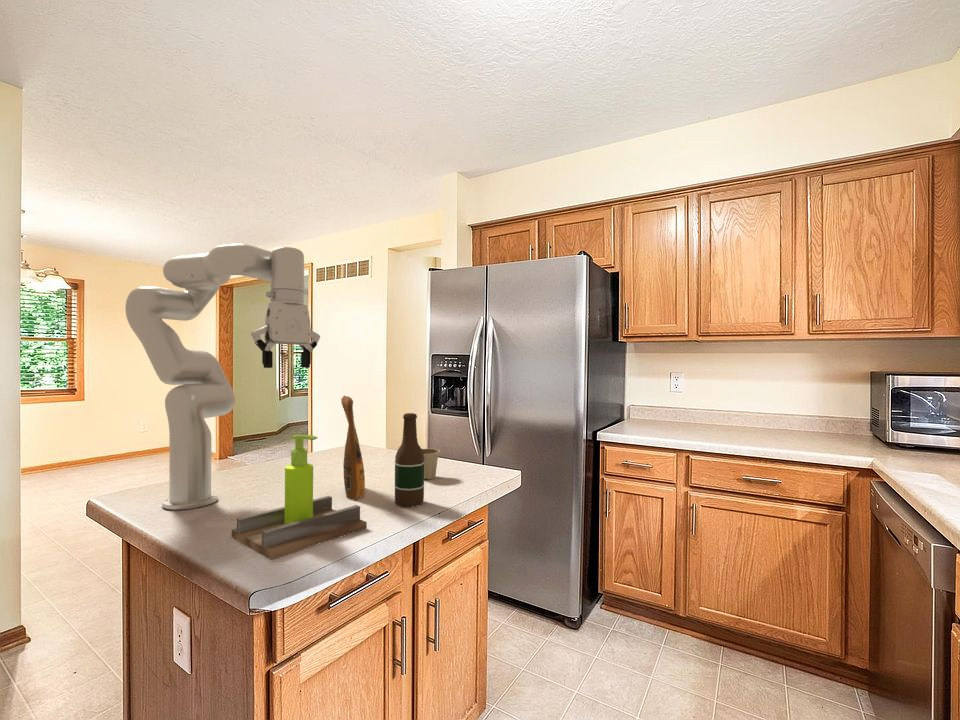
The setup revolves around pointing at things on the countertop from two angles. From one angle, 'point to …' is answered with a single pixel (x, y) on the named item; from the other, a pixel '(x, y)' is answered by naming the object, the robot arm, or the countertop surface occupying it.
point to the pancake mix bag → (352, 456)
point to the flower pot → (430, 462)
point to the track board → (296, 528)
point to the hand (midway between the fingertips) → (287, 367)
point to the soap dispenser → (299, 483)
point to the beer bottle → (409, 467)
